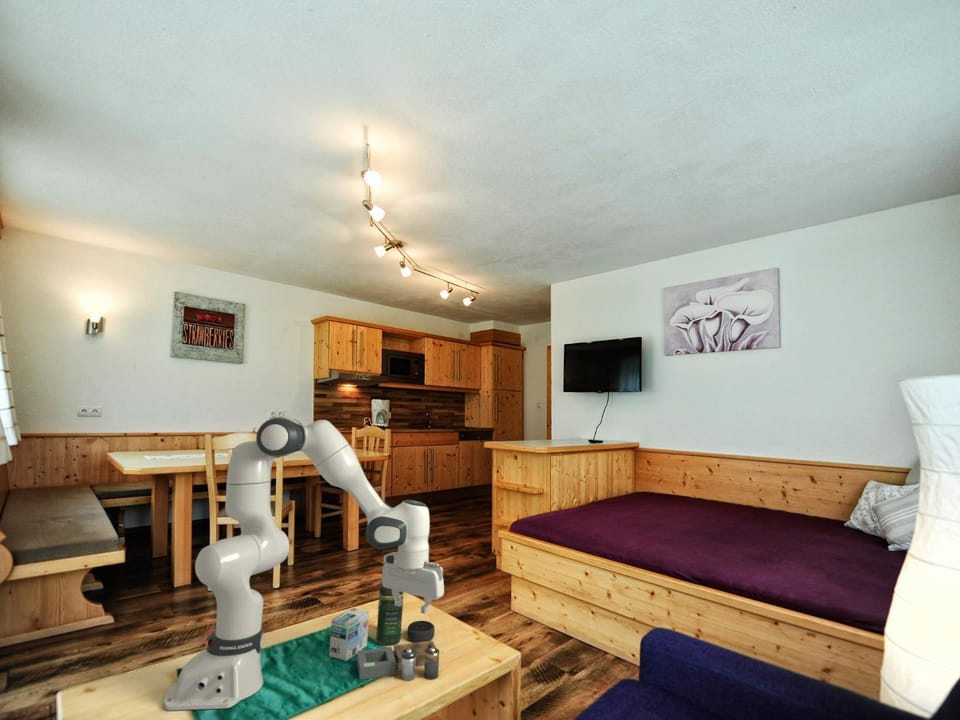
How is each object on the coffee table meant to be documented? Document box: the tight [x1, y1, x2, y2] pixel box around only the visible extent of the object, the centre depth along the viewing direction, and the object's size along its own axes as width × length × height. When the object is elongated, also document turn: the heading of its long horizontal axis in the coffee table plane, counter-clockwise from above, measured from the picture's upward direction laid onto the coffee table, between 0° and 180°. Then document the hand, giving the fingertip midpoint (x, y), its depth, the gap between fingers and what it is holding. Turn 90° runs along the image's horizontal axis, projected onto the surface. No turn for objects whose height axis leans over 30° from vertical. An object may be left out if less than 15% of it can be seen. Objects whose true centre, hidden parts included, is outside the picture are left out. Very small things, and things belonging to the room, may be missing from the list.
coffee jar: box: [376, 580, 404, 646], centre depth 158 cm, size 10×8×19 cm
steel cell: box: [400, 649, 416, 682], centre depth 135 cm, size 4×4×7 cm
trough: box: [393, 640, 437, 670], centre depth 144 cm, size 12×8×3 cm, turn 108°
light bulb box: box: [328, 607, 370, 662], centre depth 148 cm, size 11×7×11 cm, turn 158°
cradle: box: [356, 646, 397, 680], centre depth 139 cm, size 10×10×3 cm
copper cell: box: [423, 647, 440, 681], centre depth 136 cm, size 4×4×7 cm
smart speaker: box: [406, 620, 436, 643], centre depth 159 cm, size 9×9×4 cm
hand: (411, 609), depth 137 cm, fingers open, 8 cm apart
